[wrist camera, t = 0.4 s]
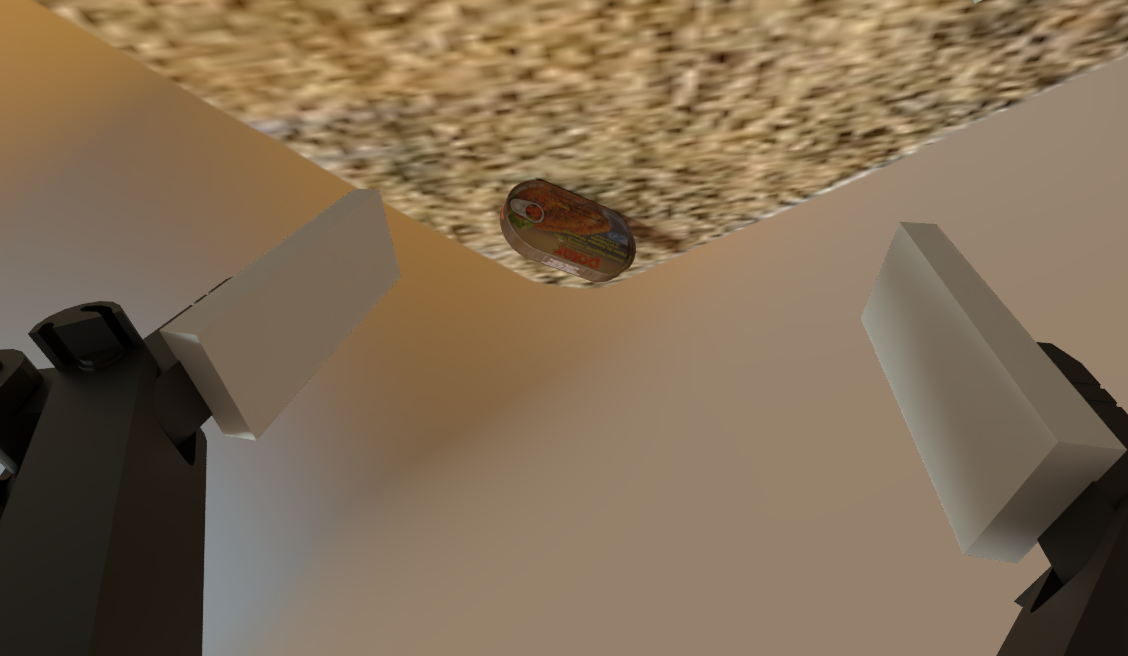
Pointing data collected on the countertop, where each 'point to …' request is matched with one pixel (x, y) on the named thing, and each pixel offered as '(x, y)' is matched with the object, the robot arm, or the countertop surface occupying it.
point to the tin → (566, 231)
